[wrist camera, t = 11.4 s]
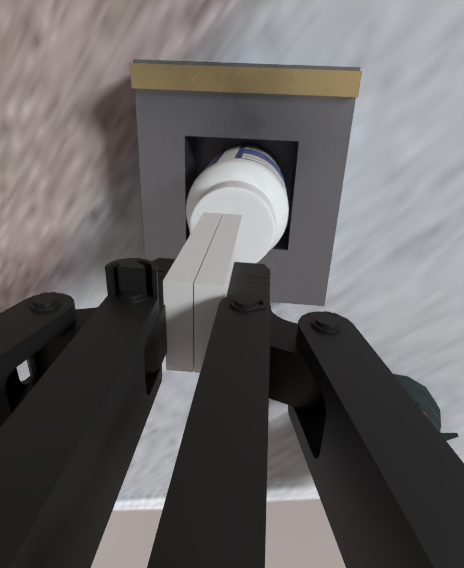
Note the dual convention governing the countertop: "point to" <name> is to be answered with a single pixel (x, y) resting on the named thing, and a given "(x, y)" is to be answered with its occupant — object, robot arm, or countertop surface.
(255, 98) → the jig
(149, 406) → the robot arm
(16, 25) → the countertop surface
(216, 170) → the pill bottle
